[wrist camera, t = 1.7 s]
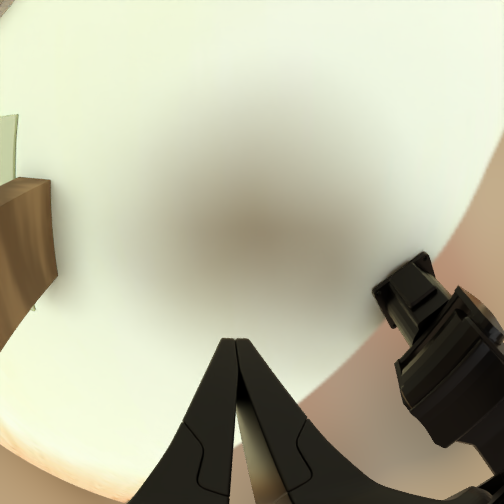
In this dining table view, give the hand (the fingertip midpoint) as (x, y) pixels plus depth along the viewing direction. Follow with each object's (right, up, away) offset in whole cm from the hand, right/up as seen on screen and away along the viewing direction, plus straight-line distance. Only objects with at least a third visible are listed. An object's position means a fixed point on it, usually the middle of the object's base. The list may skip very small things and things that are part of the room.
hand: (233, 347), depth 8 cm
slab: (-18, +5, +10) cm, 22 cm away
